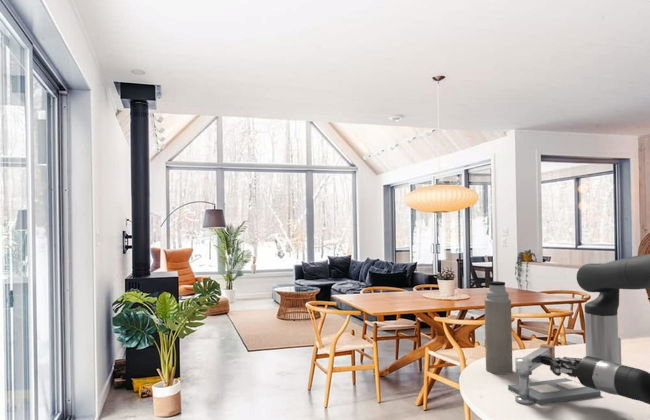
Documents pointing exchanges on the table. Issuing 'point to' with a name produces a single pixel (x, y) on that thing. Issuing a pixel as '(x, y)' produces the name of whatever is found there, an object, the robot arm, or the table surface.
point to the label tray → (557, 390)
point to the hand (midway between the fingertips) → (542, 359)
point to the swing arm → (533, 359)
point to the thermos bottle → (498, 329)
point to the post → (524, 391)
